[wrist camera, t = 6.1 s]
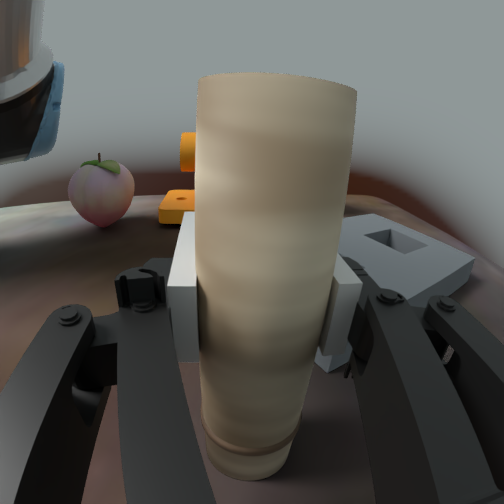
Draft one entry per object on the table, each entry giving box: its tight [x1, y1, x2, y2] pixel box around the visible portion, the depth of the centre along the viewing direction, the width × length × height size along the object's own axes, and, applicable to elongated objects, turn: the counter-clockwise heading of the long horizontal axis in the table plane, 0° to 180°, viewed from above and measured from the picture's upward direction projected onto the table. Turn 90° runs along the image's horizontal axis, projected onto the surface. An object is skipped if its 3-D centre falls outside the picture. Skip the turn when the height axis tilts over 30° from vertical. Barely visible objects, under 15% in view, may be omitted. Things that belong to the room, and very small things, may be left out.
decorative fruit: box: [68, 153, 134, 227], centre depth 38 cm, size 9×8×10 cm
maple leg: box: [195, 72, 357, 481], centre depth 10 cm, size 4×4×15 cm
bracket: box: [158, 133, 196, 224], centre depth 42 cm, size 11×7×12 cm, turn 5°
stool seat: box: [314, 214, 475, 373], centre depth 30 cm, size 24×16×3 cm, turn 122°
